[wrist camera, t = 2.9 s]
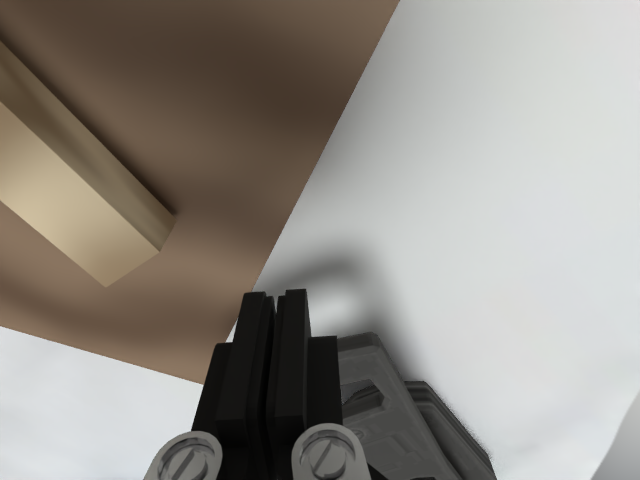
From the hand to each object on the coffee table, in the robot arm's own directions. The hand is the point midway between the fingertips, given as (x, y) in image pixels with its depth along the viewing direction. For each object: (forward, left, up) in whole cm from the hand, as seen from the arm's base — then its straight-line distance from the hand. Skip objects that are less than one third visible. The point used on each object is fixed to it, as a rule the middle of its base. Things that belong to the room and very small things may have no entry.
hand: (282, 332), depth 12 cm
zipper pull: (+12, +12, -10) cm, 20 cm away
